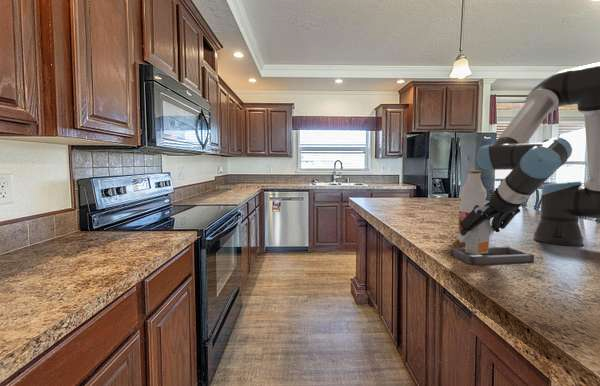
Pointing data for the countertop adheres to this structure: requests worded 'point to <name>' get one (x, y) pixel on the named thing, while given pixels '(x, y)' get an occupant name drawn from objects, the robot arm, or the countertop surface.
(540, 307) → the countertop surface
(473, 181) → the fruit juice
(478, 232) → the skincare box
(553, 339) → the countertop surface
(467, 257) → the slide track
